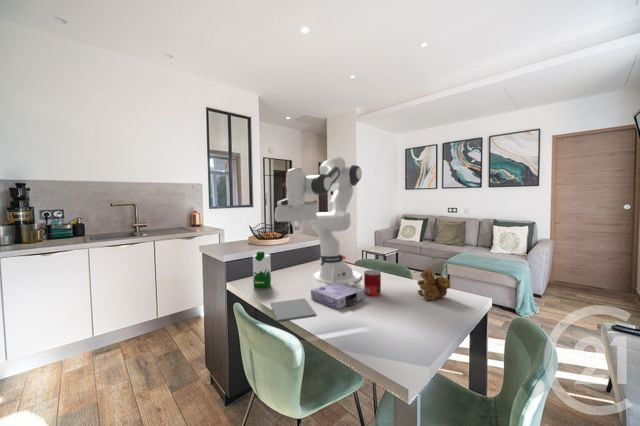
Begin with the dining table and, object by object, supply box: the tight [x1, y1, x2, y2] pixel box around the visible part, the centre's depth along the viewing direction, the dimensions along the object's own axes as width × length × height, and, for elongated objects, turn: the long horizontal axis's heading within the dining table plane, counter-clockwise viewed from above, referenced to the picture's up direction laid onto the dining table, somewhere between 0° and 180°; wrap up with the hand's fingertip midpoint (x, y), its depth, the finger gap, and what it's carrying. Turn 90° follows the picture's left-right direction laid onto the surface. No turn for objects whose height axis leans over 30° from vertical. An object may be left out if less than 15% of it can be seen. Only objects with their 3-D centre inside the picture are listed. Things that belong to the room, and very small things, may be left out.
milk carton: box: [252, 251, 272, 289], centre depth 144 cm, size 9×9×20 cm
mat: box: [270, 298, 317, 322], centre depth 114 cm, size 16×19×1 cm
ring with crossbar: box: [313, 270, 362, 287], centre depth 161 cm, size 28×28×5 cm
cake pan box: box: [310, 283, 365, 310], centre depth 125 cm, size 19×5×18 cm
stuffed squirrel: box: [417, 268, 452, 301], centre depth 127 cm, size 10×14×13 cm
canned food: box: [363, 269, 382, 297], centre depth 133 cm, size 8×8×11 cm
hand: (296, 230), depth 129 cm, fingers closed
